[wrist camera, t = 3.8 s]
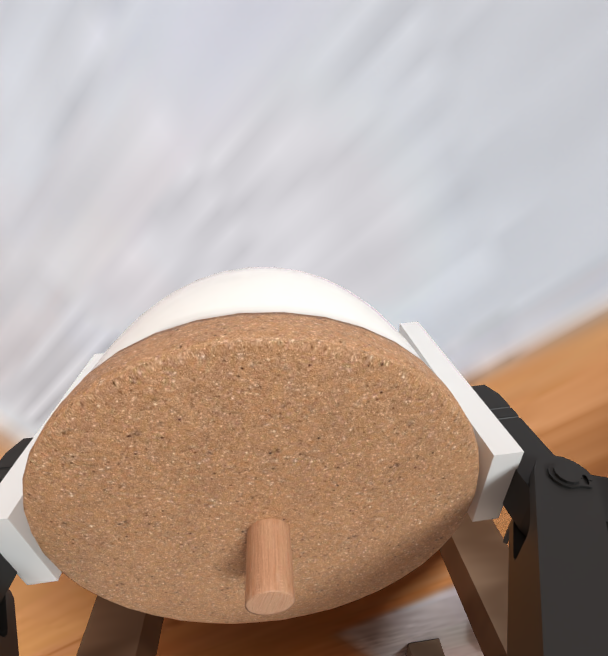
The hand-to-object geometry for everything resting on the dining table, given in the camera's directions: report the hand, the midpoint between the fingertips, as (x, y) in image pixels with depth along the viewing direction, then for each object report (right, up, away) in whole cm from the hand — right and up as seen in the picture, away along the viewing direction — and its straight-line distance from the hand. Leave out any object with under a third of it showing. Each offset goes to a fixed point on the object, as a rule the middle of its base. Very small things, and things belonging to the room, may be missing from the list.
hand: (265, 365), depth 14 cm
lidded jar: (0, +1, +1) cm, 1 cm away
